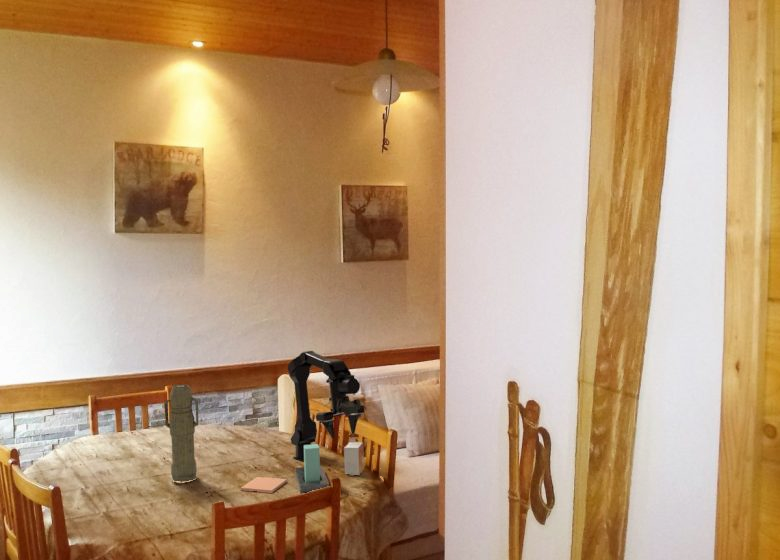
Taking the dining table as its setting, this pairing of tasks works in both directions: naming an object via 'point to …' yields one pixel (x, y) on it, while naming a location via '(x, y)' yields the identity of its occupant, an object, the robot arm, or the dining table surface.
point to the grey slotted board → (313, 484)
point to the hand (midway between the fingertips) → (343, 436)
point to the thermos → (182, 432)
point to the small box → (354, 458)
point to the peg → (311, 463)
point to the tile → (264, 484)
